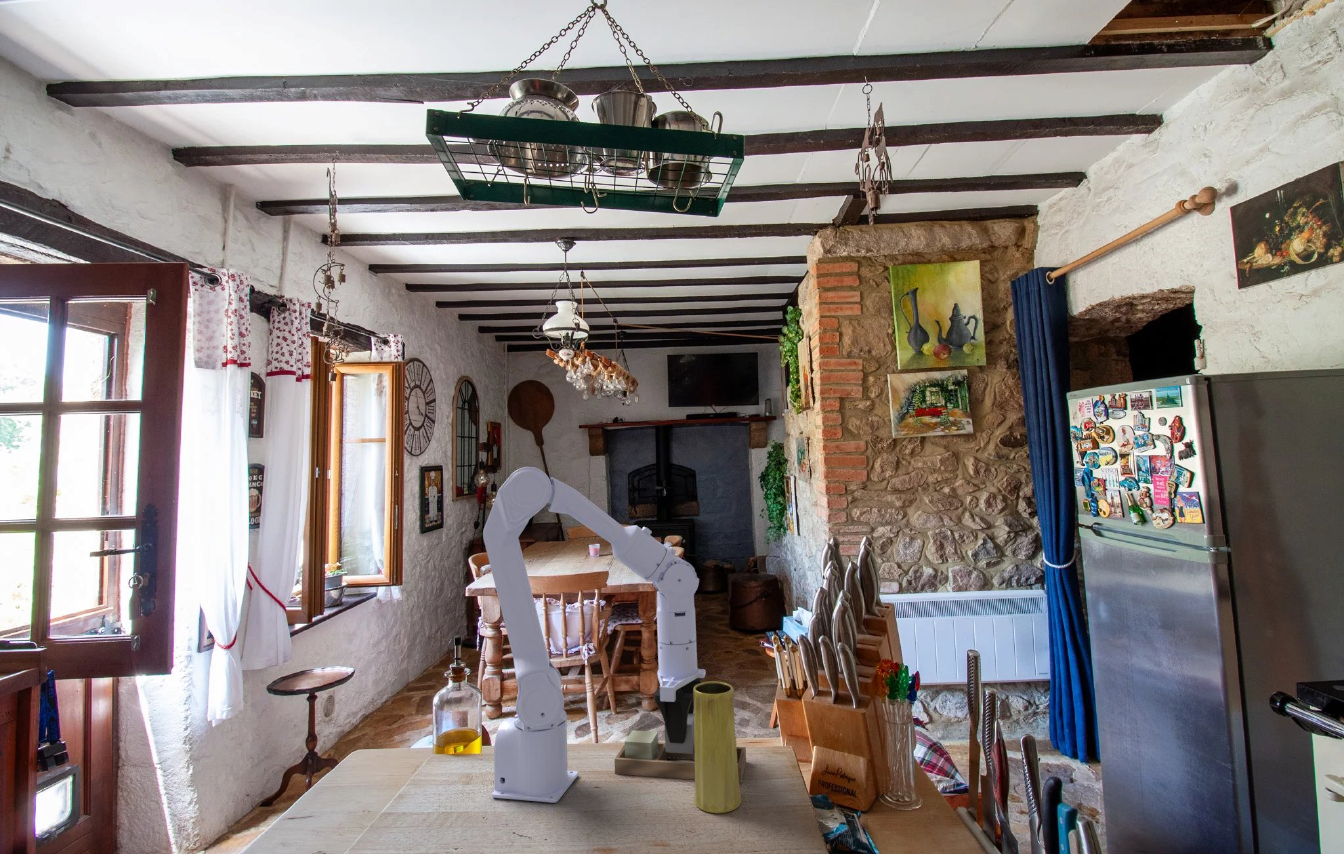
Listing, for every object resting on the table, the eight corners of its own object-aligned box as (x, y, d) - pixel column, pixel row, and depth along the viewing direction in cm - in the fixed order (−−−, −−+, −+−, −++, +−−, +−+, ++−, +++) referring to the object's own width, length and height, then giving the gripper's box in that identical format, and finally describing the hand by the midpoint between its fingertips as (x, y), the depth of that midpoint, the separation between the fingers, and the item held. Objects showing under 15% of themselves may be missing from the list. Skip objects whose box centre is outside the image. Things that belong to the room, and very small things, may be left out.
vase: (739, 815, 75) (734, 696, 76) (690, 812, 76) (686, 694, 77) (743, 791, 81) (738, 680, 82) (698, 788, 82) (694, 679, 83)
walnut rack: (614, 773, 87) (614, 744, 87) (627, 753, 93) (627, 726, 94) (741, 782, 83) (740, 752, 83) (746, 761, 89) (745, 733, 90)
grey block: (665, 752, 87) (664, 723, 87) (671, 740, 91) (670, 712, 91) (692, 753, 86) (691, 724, 86) (697, 741, 90) (696, 713, 90)
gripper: (694, 654, 82) (698, 759, 81) (711, 628, 96) (715, 717, 95) (644, 653, 83) (647, 756, 82) (668, 627, 98) (671, 715, 96)
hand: (680, 735), depth 89 cm, fingers closed on grey block, 4 cm apart
